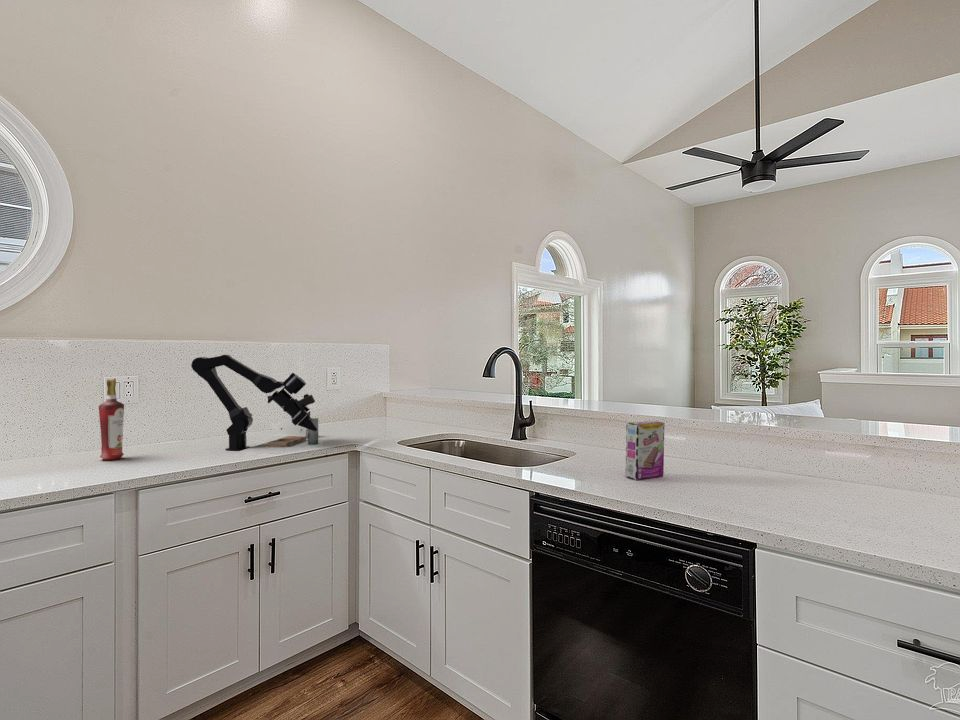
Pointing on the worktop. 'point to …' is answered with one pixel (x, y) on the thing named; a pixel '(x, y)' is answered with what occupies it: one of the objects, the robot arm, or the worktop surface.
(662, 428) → the candy bar box
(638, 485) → the worktop surface
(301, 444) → the pale green square plate
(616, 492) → the worktop surface
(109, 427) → the liquor
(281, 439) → the brown slotted block
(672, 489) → the worktop surface
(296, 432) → the white game console
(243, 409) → the robot arm
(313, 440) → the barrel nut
